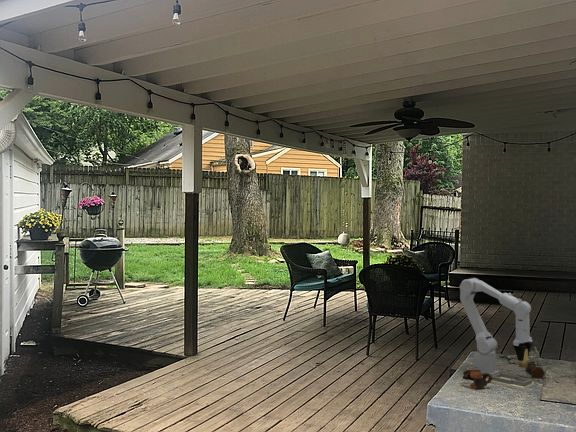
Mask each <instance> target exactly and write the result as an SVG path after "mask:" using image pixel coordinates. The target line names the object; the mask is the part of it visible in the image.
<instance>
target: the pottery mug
mask: <svg viewBox="0 0 576 432" xmlns="http://www.w3.org/2000/svg"><path fill="white" fill-rule="evenodd" d="M462 374H463V376H462V380H466V381H468V380H469V381H473V383H470V384H469V385H470V389H471V390H476V389H479V390H480V389H481V390H484V389H485V387H487V385H488V384H491V383H490V382H491V381H492V377H491V376H492V375H490V374H489V373H484V374H483V373H481V371H480V370H477V369H475V370H473V369H469V370H465V371H463V372H462ZM487 378H488V379H487ZM486 379H487V380H486Z"/></svg>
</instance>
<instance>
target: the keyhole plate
mask: <svg viewBox="0 0 576 432" xmlns="http://www.w3.org/2000/svg"><path fill="white" fill-rule="evenodd" d="M491 377H492V381H491V382H490V383H489V384H493V385H494V384H495V385H498V386H502V387H503V386H504V387H508V388H513V389H517V390H521V391H524V390H525V389H527V388H529V387H530V388H531V386H534V385H535V382H534V381H533V379H532V378H531V379H530V378H526V377H521V376H519V375H515V374H509V373H505V372H498V373H496V374H493V375H491Z"/></svg>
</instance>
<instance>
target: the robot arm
mask: <svg viewBox="0 0 576 432" xmlns="http://www.w3.org/2000/svg"><path fill="white" fill-rule="evenodd" d="M459 291H460V293H459V299H460V300H459V301H460V302H461V305H462V306H463V309H464V311H465V313H466V316H467V317H468V320H469V322H470V324H471V327H472V329H473V331H474V333H475V341H476V348H477V350H478V351H475V352H474V353H473V358H472V360H473V361H472V365H473V366H472V367H473V369H472V370H475V369H477V370H480V371H481V373H482V374H484V373H489V374H490V375H491V376H492V375H495V374H497V373H500V370H497V369H496V368H497V365H496V364H497V363H496V361H497V359H496V358H497V357H496V356H497V355H496V349H497V348H498V342H497V340H496V338H494V337H493V335H492V333H491V332H489V331H488V330H487V327H486V325H485V323H484V320H483V319H482V316H481V314H480V312H479V310H478V308H477V306H476V304H475V301H474V298H475V295H476V294H477V293H478V292H483V293H485V294H487V295H489V296H491V297H493V298H495V299H497V300H498V301H499V304H501V305H502V306H504V307H506V308H508V309H509V310H511V311H513V312H514V313H513V314H515V338H514V340H513V341H512V347H513V349H514V351H515V353H516V354H515V355H517V357H516V358H517V360H519V361H523V360H524V353H525V349H526V348H527V349H528V356H529V352H530V349H531V348H532V347H533V346H534V345H533V344H534V343H533V338H532V336H530V335H531V334H530V333H531V332H530V331H531V329H530V328H531V327H530V326H531V325H530V321H531V320H530V313H531V311H532V306H531V304H530V302H529V303H528V301H525V300H522V299H521V298H517V297H516V296H513V295H512V293H511V292H508V293H507V292H503V293H502V292H501V291H500V290H497V289H496V288H494V287H493V286H491V285H489V284H488V283H486V282H484V281H483V280H480V279H479V278H478V277H477V278H476V277H471V278H468V279H467V278H466V279H463V280H462V281H461V283H460V284H459Z"/></svg>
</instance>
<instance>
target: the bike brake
mask: <svg viewBox="0 0 576 432" xmlns="http://www.w3.org/2000/svg"><path fill="white" fill-rule="evenodd" d="M533 348H534V351H533ZM533 348H532V347H531V349H530V352H529V356H528V363H534V364H535V363H538V364H539V365H540V364H541V362H542V361H543V358H542V357H540V353H539V351H538V349H537V347H536V346H534V347H533ZM498 358H501V359H502V358H503V359H504V358H505V359H507V360H508V362H509V364H518V359H517V360H512V359H514V358H515V359H516V358H517V354H513V355H507V356H499V355H498Z"/></svg>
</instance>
